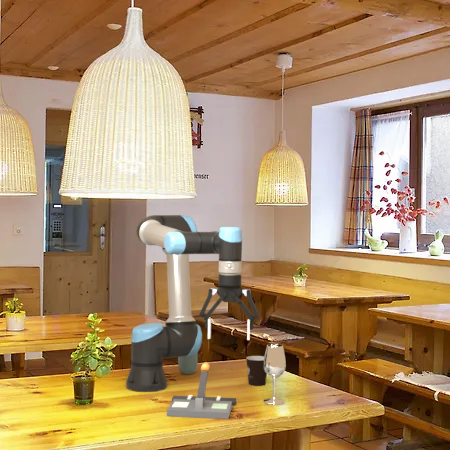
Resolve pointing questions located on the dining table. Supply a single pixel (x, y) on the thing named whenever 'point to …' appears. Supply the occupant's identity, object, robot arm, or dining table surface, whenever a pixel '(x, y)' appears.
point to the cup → (188, 364)
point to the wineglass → (274, 368)
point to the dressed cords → (206, 398)
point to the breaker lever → (203, 379)
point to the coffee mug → (256, 370)
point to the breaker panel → (200, 408)
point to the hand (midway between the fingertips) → (228, 338)
